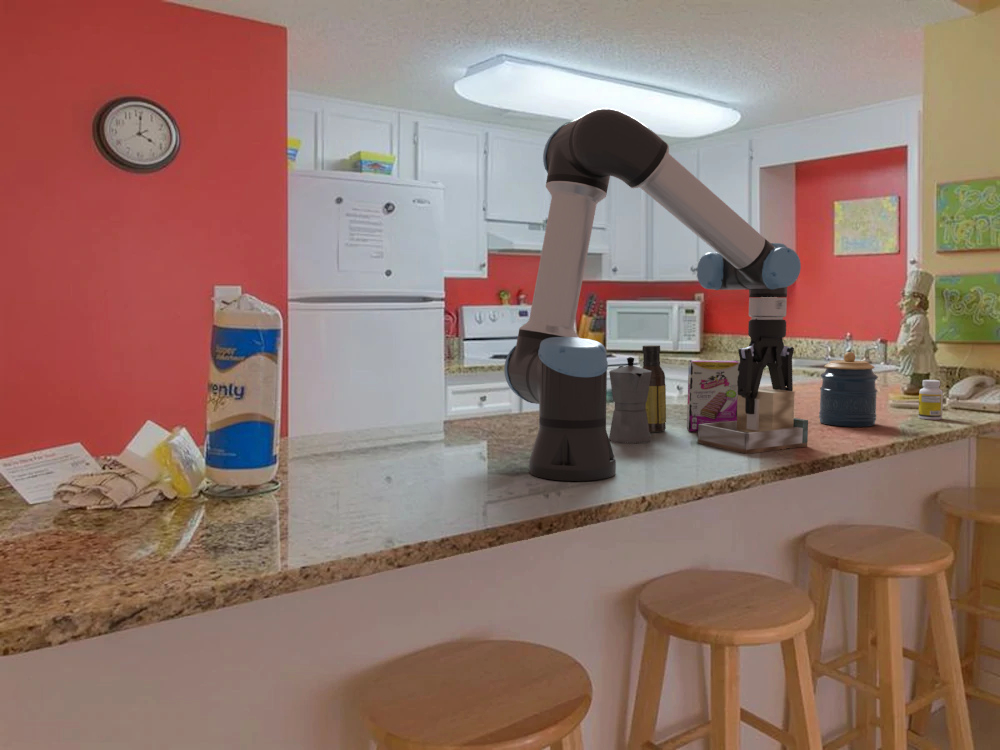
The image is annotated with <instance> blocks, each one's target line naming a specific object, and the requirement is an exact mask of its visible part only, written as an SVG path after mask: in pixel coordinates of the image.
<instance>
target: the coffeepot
mask: <svg viewBox="0 0 1000 750" xmlns="http://www.w3.org/2000/svg"><path fill="white" fill-rule="evenodd" d="M626 360H627V365H625V366H624V365H620V366H618V367H617V368H615V369H611V370H609V380H610V388H611V394H612V395H611V397H612V401H613V402H614V409H613V412H612V419H611V423H610V424H611V425H610V429H609V435H608V438H609V441H610V442H614V443H617V444H645V443H646V444H647V443H649V442H650V440H651V432H649V426H648V419H647V412H646V410H645V409H646V402H647V398H648V391H649V385H650V379H651V372H652V371H650V370H647V369H643V367H640V366H636V365H634V362H635V357H631V356H629V357H627V358H626Z"/></svg>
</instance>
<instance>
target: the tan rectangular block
mask: <svg viewBox="0 0 1000 750" xmlns="http://www.w3.org/2000/svg"><path fill="white" fill-rule="evenodd" d="M751 392H752V391H751ZM756 399H760V401H759V430H751V429H747V414H746V412H745V407H746V406H745V401H746V400H745V398H743V397H742V396H741V395H738V396H737V430H738V431H743V432H748V433H752V432H762V431H772V430H778V429H783V428H793V424H794V418H795V417H794V416H795V391H785V390H777V389H773V388H766V387H760V386H759V389H758V393H757V397H756Z"/></svg>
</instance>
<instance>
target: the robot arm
mask: <svg viewBox="0 0 1000 750" xmlns="http://www.w3.org/2000/svg"><path fill="white" fill-rule="evenodd" d="M542 155H543V156H542V160H543V167H544V170H545V171H546V173H547V176H546V182H545V189H546V190H547V191H548V192H549V194H550V195H551V199H550V204H549V205H550V206H549V210H548V215H547V221H546V228H545V233H544V236H543V243H542V248H541V249H542V250H541V254H540V257H539V258H540V259H539V264H538V270H537V275H536V281H535V286H534V291H533V298H532V303H531V307H530V308H531V309H530V313H529V319H528V321H527V322H526V323H524V324H523V325H521V326H520V327H519V330H518V334H517V341H516V344H515V346H513V347H512V348H511V350H510V351H509V352H508V353H507V356H506V358H505V361H504V369H503V371H504V377H505V380H506V383H507V385H508V387H509V389H510V390H511V391H512V392H513V393H514V394H515V395H517V397H519V398H521V399H522V400H523V401H525V402H527V403H530V404H536V405H537V404H538V405H539V406H538V408H539V409H538V415H539V416H538V421H539V425H538V431H537V434H536V438H535V441H534V444H533V447H532V450H531V453H530V456H529V460H528V471H529V474H530V475H532V476H534V477H537V478H541V479H544V480H545V479H546V480H551V481H553V480H554V481H561V482H562V481H564V482H566V481H567V482H583V481H585V482H586V481H588V482H589V481H597V480H599V481H600V480H604V479H609V478H611V477H614V476H615V475H616V472H617V469H616V468H617V465H616V464H617V461H616V458H615V454H614V450H613V447H612V444H611V441H610V440H609V435H608V432H607V385H608V384H607V383H608V382H607V381H608V367H609V363H608V357H607V349H606V346H605V345H604V344H603V343H601V342H599V341H597V340H594V339H590V338H581V337H579V335H578V334H577V332H576V331H575V328H574V327H575V323H576V316H577V311H578V305H579V302H580V301H579V300H580V295H581V290H582V285H583V280H584V275H585V268H586V263H587V258H588V252H589V248H590V246H589V245H590V241H591V236H592V231H593V225H594V220H595V216H596V210H597V209H596V208H597V205H598V203H600V202H601V201H603V200H604V199H605V198H606V197H607V196H608V195H607V194H608V190H609V183H610V179H611V177H613V178H615V179H618V180H620V181H622V182H623V183H625V184H626V185H627V186H629V188H631V189H638V188H640V189H641V190H643V191H644V192H645V193H646V194H648V196H649V197H651V198H652V199H653V200H654V201H655V202H657V203H658V204H659V205H660V206H662V207H663V208H664V209H665V210H667V212H668V213H670V214H671V215H672V216H674V218H676V220H678V221H679V222H680V223H682V225H684V226H685V227H686V228H687V229H688V230H690V231H691V232H692V233H694V234H695V235H696V236H697V237H698V238H699V239H701V240H702V241H703V242H704V243H706V245H708V246H709V247H710V248H712V249H713V250H714V251H715V252H714V251H711V252H706V253H704V254H703V255H702V256H701V257H700V259H699V260H698V264H697V268H696V269H697V270H696V278H697V280H698V283H699V284H700V286H701V288H704V289H706V290H715V291H719V290H720V291H724V290H725V291H726V290H727V291H728V290H729V291H733V290H735V291H736V290H738V291H739V290H745V291H746V290H748V299H749V300H748V316H749V317H750V319H749V321H748V325H747V327H748V329H747V330H748V331H747V332H748V333H747V334H748V337H750V342H749V345H748V346H747V347H739V348H738V357H739V362H740V366H739V380H738V395H741V396H742V397H743V398H745V400H746V401H745V406H746V407H745V412H746V414H747V429H751V430H759V401H760V399H756V397H757V393H758V389H759V387H760V385H761V380H762V377H763V372H764V370H765V368H766V367H768V372H769V373H768V374H769V378H770V382H771V387H772V389H777V390H785V391H793V389H794V387H793V383H794V380H793V356H794V351H795V348H794V346H787V345H785V343H784V341H783V338H785V337H786V336H787V320H786V319H784V318H785V317H786V316H787V306H788V305H787V302H788V301H787V300H788V299H787V297H788V287H790V286H792V285H794V283H795V282H796V281H797V279H799V278H798V277H799V276H800V273H801V269H802V267H801V259H800V257H799V255H798V254H797V252H796V251H795V250H794V249H792V248H789V247H787V246H788V245H786V244H784V243H780V242H777V243H776V242H773V243H772V242H770V241H769V240H767V239H766V238H765V237H764V236H763V235H761V234H760V232H758V231H757V230H756V229H755V228H754V227H752V226H751V224H749V222H747V221H746V220H745V219H743V217H741V216H740V215H739V214H738V213H737V212H735V211H734V209H732V208H731V207H730V206H729V205H728V204H726V202H725V201H723V200H722V199H721V198H720V197H719V196H717V194H715V193H714V192H713V191H712V190H711V189H709V188H708V187H707V186H706V185H705V184H704V183H703V182H702V181H701V180H699V179H698V178H697V177H696V176H695V175H694V174H692V172H690V171H689V170H688V169H687V168H686V167H684V165H682V164H681V163H680V162H679V161H678V160H676V158H674V157H673V156H672V155H671V154H670V146H669V144H668V143H667V142H666V141H665V140H663V139H662V138H661V137H660V136H659V135H658V134H657V133H656V132H655V131H653V130H652V129H650V128H649V127H648V126H647V125H646V124H644V123H642V122H641V121H639V120H638V119H637V118H635V117H633V116H631V115H629V114H628V113H626V112H624V111H621V110H618V109H615V108H609V107H605V108H604V107H602V108H596V109H593V110H591V111H589V112H587V113H585V114H584V115H582V116H580V117H578V118H576V119H574V120H570V121H568V122H565V123H563V124H562V125H561V126H559V127H558V128H557V129H555V130H554V132H553V133H552V134H551V135H550V136H549V137H548V140H547V141H546V144H545V145H544V149H543V154H542ZM751 391H752V392H751ZM793 392H794V391H793Z"/></svg>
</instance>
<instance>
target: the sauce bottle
mask: <svg viewBox="0 0 1000 750" xmlns="http://www.w3.org/2000/svg"><path fill="white" fill-rule="evenodd" d="M641 352H642V354H643V357H642V358H643V362H642V363H643V364H642V368H643V369H647V370H650V371H652V372H651V379H650V385H649V391H648V398H647V402H646V409H645V410H646V412H647V419H648V426H649V432H650V433H661V432H664V431H666V430H667V429H666V427H667V426H666V423H667V403H666V402H667V401H666V400H667V395H666V391H667V389H666V386H667V385H666V375H665V374H666V373H665V372H664V370H663V368H662V367H661V358H660V357H661V355H660V353H661V345H660V344H644V345H642V351H641Z"/></svg>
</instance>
